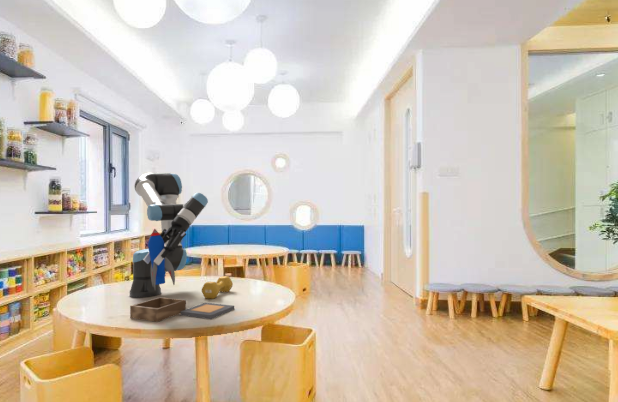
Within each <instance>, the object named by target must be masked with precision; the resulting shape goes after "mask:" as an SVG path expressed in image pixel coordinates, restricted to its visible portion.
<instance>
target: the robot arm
mask: <svg viewBox="0 0 618 402" xmlns="http://www.w3.org/2000/svg"><path fill="white" fill-rule="evenodd" d="M182 189H183V184H182V179H181V178H180V176H179V175H178V174H177V173H171V172H165V173H164V172H146V173H143V174H141V175H140V176H138V178H137V179H136V180H135V182H134V190H135V192H136V194H137V195H138V196H140V197H141V199H142V200H143V202H144V203H145V204H146V206H147V208H146V216H147V219H148V220H149V221H152V222H153V221H154V222H159V221H160V223H161V225H160V226H161V233H159V234H160V236H161V237H162V239H163V241H164V248H165V249H163V250H162V251H161V252H160V253H159V255H158V256H157V257H156V259H155V260H154V262H155V263H156V264H157V265H159V264H160V263H161V262H162V260H163V259H164V258H165V257H166V258H167V259H168V260H169V261H170V262H171V264H172V266H173V268H174V272H177V271H181V270H183V269H184V268H185V267H186V263H187V259H188V254H187V253H188V252H187V249H186V248H183V244H182V243H181V241H182V240H183V239H184V238H185V236H186V235H187V233H186V232H187V231H188V230H189V228H190V227H191V225H192V224H193V223H194V221H195V220H196V219H197V217H199V215H200V214H201V213H202V211H203V210H204V209H205V208H206V206H207V204H208V203H209V199H208V198H207V196H206V195H204V193H202V192H195V193H193V195H191V197H190V198H189V200H188V201H186V202H185V203H180V204H179V203H177V199H178V198H179V197H180V195H181V194H182V192H183V190H182ZM131 262H132V283H131V286H130V287H131V288H130V290H129V297H131V298H149V297H155V296H158V295H161V293H162V289H161V286H160V284H159V285H155V288H154V284H153V285H152V281H151V259H150V254H149V248H144V249H141V250H140V249H139V250H136V251H135V252H134V253H133V254H132V261H131ZM165 272H166V273H168V271H167V270H166V269H165Z"/></svg>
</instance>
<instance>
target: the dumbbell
mask: <svg viewBox="0 0 618 402" xmlns="http://www.w3.org/2000/svg"><path fill="white" fill-rule="evenodd" d="M233 285H234V284H233V280H232V279H231V277H229V275H228V276H227V275H223V276H219V278H218V279H217V280H216V282H215V281H206V282H205V283H204V284H203V286H202V287H201V292H202V296H203V297H204V298H205V299H208V300H214V299H216V298H217V297H218V296H219V293H228V292H230V291H231V290H232V287H233Z"/></svg>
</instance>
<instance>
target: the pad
mask: <svg viewBox="0 0 618 402" xmlns="http://www.w3.org/2000/svg"><path fill="white" fill-rule="evenodd" d="M234 310H235V305H231V304H222V303H215V302H214V303H213V302H203V303H200V304H197V305H194V306H191V307H189V308H186V310H183V311H180V314H179V315H180V316H185V317H194V318H200V319H207V320H212V319H214V318H217V317H219V316H222V315H225V314H227V313H228V312H231V311H234Z"/></svg>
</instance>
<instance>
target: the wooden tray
mask: <svg viewBox="0 0 618 402" xmlns="http://www.w3.org/2000/svg"><path fill="white" fill-rule="evenodd" d="M186 301H187V299H180V298H172V297H161V296H158V297H156V298H152V299H148V300H145V301H142V302H138V303H135V304H132V305H129V310H130V311H129V314H130V315H129V317H130V319H134V318H136V320H142V321H148V322H157V323H159V322H162V321H163V320H164V321H165V320H167V319H169V318H172V317H175V316H178V315H180V311H183V310H186V309H187V302H186Z"/></svg>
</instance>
